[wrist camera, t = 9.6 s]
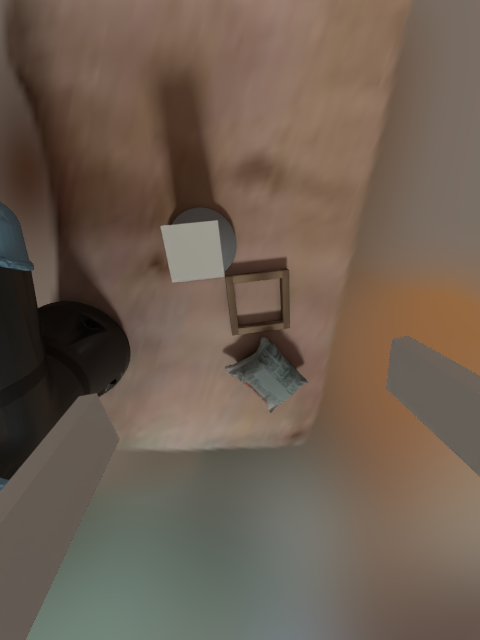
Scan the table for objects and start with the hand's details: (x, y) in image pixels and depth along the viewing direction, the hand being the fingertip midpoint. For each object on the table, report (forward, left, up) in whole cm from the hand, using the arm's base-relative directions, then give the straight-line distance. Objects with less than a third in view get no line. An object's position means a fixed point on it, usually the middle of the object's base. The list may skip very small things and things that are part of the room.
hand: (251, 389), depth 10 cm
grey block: (-3, +5, -24) cm, 24 cm away
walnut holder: (+4, -4, -24) cm, 25 cm away
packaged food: (+5, -16, -25) cm, 30 cm away
